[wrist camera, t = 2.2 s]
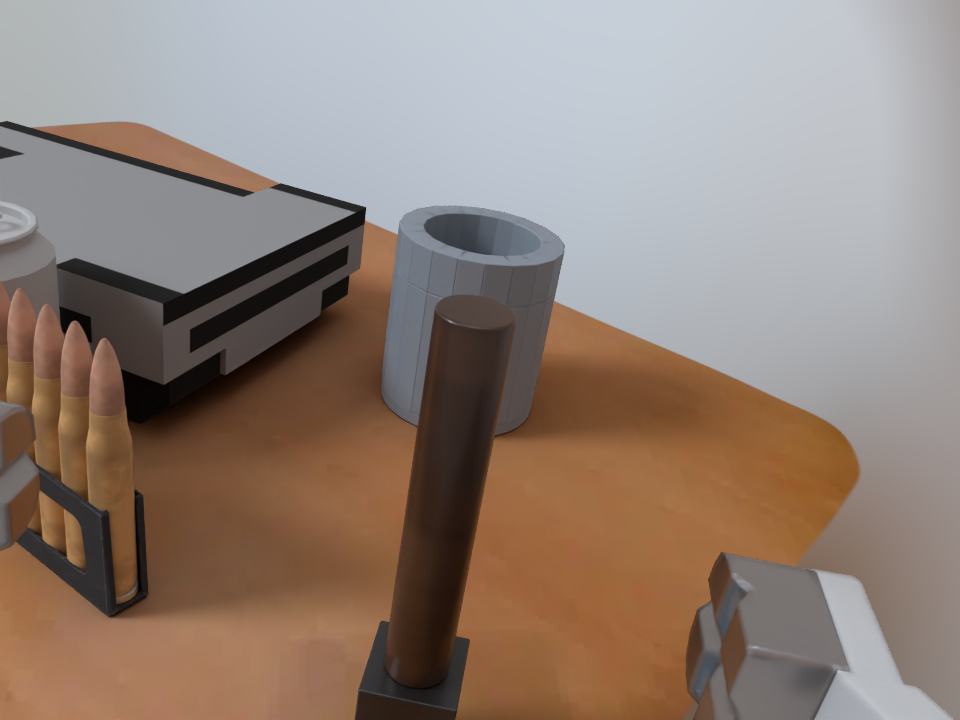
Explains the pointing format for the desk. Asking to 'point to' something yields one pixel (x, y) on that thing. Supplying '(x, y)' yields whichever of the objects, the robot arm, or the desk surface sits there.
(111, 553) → the ammunition clip
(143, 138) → the desk surface
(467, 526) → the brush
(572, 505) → the desk surface
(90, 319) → the game console
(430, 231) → the hollow cylinder
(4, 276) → the can
